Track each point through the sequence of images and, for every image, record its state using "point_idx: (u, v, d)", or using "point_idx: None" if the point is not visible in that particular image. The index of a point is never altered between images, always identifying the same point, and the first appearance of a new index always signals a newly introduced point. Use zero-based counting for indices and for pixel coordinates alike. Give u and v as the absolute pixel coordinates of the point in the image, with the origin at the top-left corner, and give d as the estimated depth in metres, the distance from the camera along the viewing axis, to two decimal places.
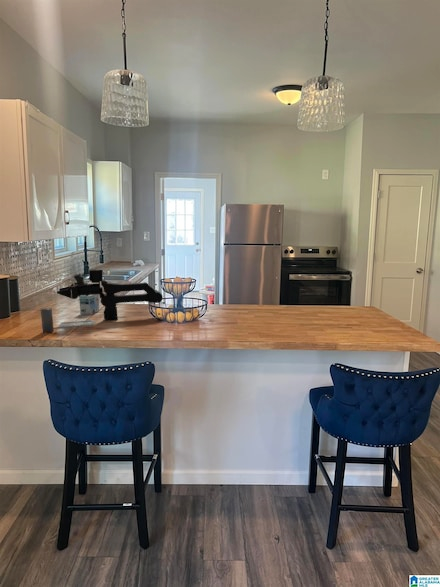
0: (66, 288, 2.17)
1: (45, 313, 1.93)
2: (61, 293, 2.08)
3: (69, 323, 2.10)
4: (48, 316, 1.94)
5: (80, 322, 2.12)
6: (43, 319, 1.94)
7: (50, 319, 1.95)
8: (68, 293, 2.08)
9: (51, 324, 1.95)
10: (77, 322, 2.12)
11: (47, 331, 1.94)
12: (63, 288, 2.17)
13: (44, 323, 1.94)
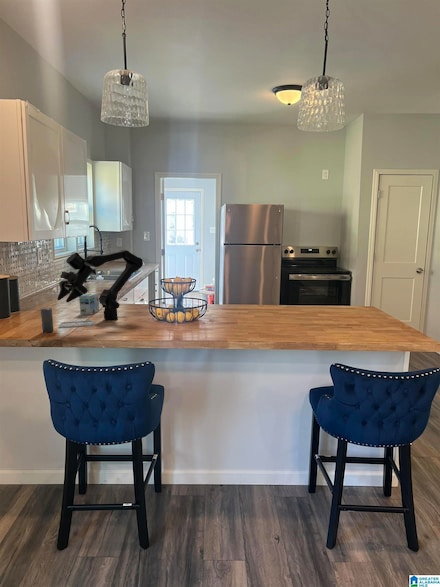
0: (61, 293, 2.05)
1: (45, 313, 1.93)
2: (71, 299, 1.98)
3: (69, 323, 2.10)
4: (48, 316, 1.94)
5: (80, 322, 2.12)
6: (43, 319, 1.94)
7: (50, 319, 1.95)
8: (75, 293, 1.99)
9: (51, 324, 1.95)
10: (77, 322, 2.12)
11: (47, 331, 1.94)
12: (59, 295, 2.04)
13: (44, 323, 1.94)
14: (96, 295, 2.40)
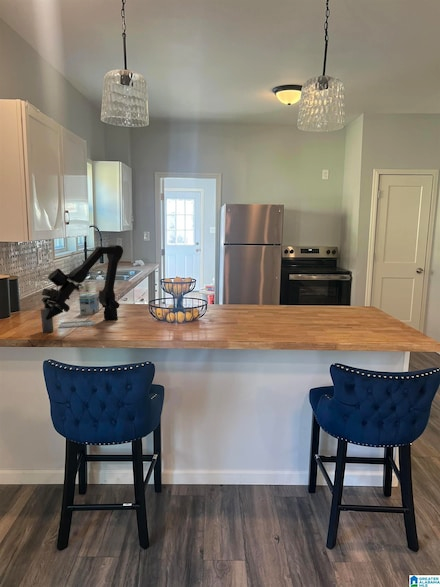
0: None
1: (45, 312, 1.93)
2: (50, 316, 1.94)
3: (69, 323, 2.10)
4: None
5: (80, 322, 2.12)
6: (43, 319, 1.94)
7: (50, 319, 1.95)
8: (56, 310, 1.95)
9: (51, 324, 1.95)
10: (77, 322, 2.12)
11: (47, 331, 1.94)
12: None
13: (44, 323, 1.94)
14: (96, 295, 2.40)
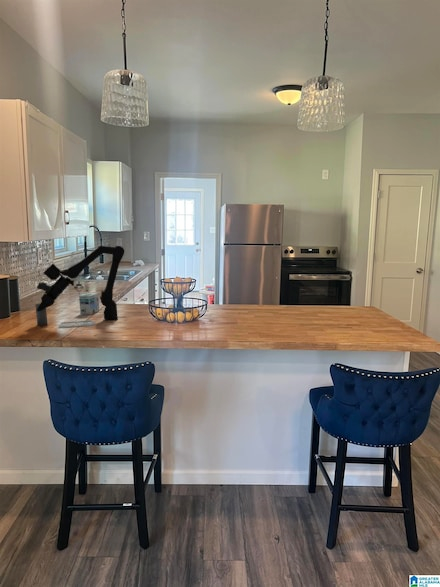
0: None
1: (37, 307, 2.07)
2: (40, 308, 2.05)
3: (69, 323, 2.10)
4: (39, 311, 2.07)
5: (80, 322, 2.12)
6: (36, 313, 2.08)
7: (42, 313, 2.08)
8: (45, 303, 2.05)
9: (43, 318, 2.08)
10: (77, 322, 2.12)
11: (39, 324, 2.08)
12: None
13: (37, 316, 2.08)
14: (96, 295, 2.40)
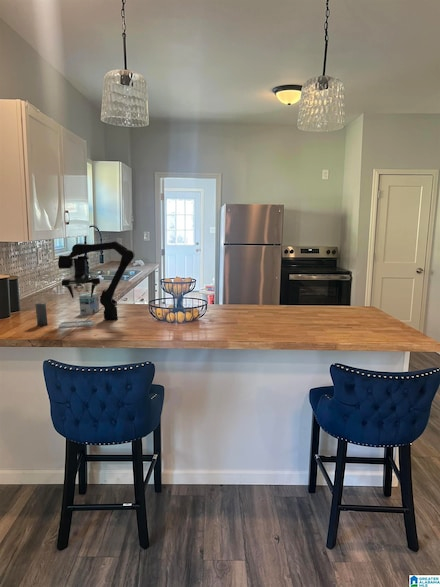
0: (72, 291, 2.15)
1: (37, 307, 2.07)
2: (92, 293, 2.19)
3: (69, 323, 2.10)
4: (39, 311, 2.07)
5: (80, 322, 2.12)
6: (36, 313, 2.08)
7: (42, 313, 2.08)
8: None
9: (43, 318, 2.08)
10: (77, 322, 2.12)
11: (39, 324, 2.08)
12: None
13: (37, 316, 2.08)
14: (96, 295, 2.40)
